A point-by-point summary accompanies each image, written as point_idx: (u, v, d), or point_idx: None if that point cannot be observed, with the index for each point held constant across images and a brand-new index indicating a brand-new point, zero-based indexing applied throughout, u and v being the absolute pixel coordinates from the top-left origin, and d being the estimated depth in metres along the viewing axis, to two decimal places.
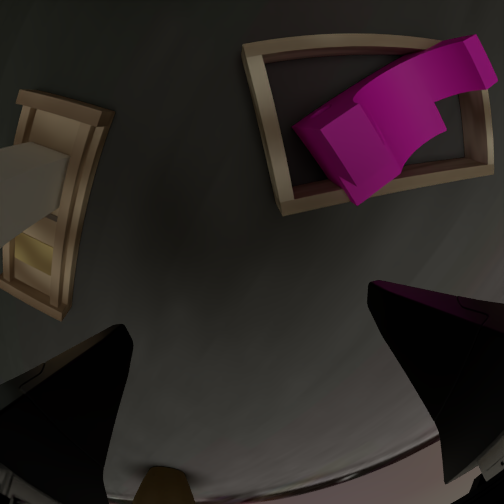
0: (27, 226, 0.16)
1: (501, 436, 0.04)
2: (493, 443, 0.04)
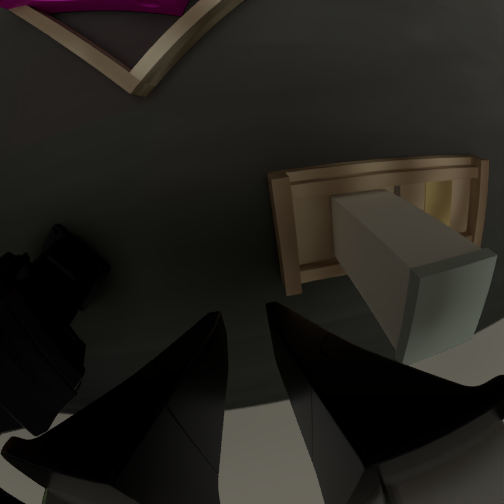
0: (417, 209, 0.16)
1: None
2: None
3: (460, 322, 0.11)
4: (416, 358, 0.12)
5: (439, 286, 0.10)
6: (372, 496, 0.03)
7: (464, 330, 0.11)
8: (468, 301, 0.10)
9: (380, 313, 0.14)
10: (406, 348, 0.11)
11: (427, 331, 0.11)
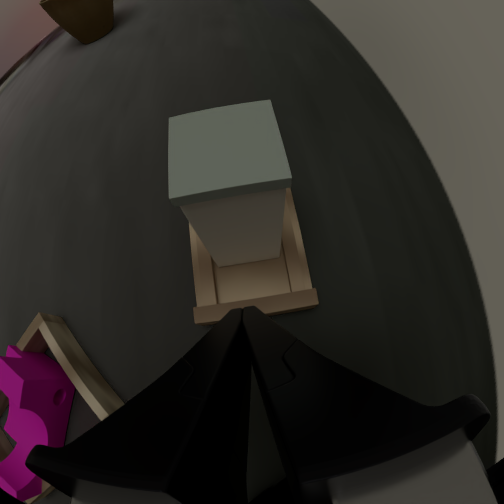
0: None
1: None
2: None
3: (238, 126, 0.13)
4: (279, 162, 0.12)
5: (183, 173, 0.12)
6: None
7: (253, 115, 0.13)
8: (212, 129, 0.13)
9: (270, 212, 0.15)
10: (259, 182, 0.12)
11: (239, 164, 0.12)
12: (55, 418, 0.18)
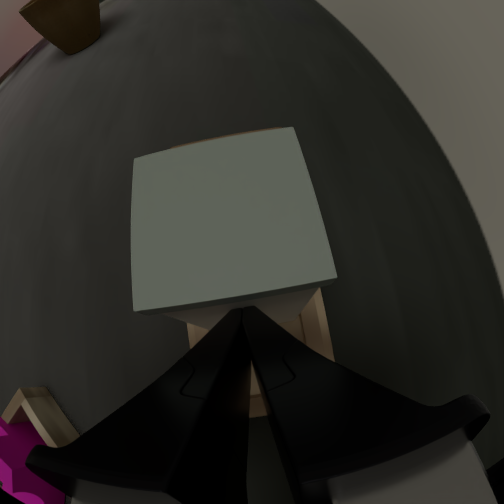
0: None
1: None
2: None
3: (244, 175, 0.08)
4: (316, 248, 0.07)
5: (154, 265, 0.07)
6: None
7: (267, 155, 0.08)
8: (200, 180, 0.08)
9: (292, 300, 0.10)
10: (283, 286, 0.07)
11: (247, 251, 0.07)
12: (51, 491, 0.13)
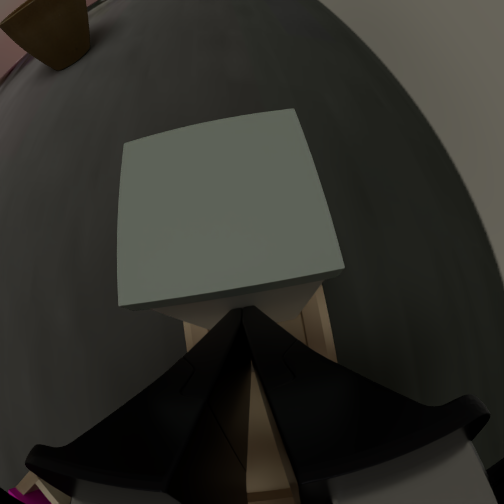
0: None
1: None
2: None
3: (241, 158, 0.07)
4: (321, 236, 0.06)
5: (141, 255, 0.06)
6: None
7: (266, 137, 0.07)
8: (193, 163, 0.07)
9: (293, 296, 0.09)
10: (284, 278, 0.06)
11: (244, 239, 0.06)
12: None
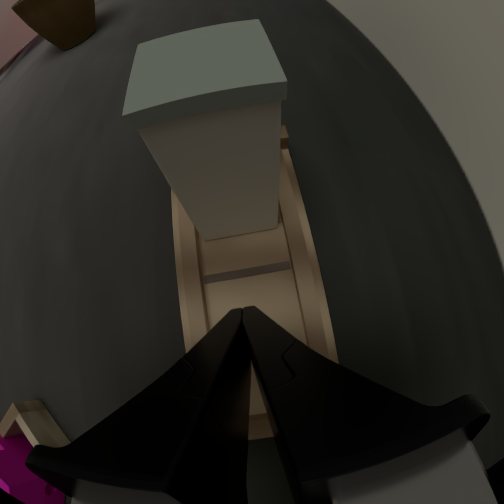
0: None
1: None
2: None
3: (219, 40, 0.09)
4: (270, 68, 0.08)
5: (144, 88, 0.08)
6: None
7: (237, 31, 0.09)
8: (186, 45, 0.09)
9: (262, 146, 0.11)
10: (243, 86, 0.08)
11: (217, 72, 0.08)
12: None
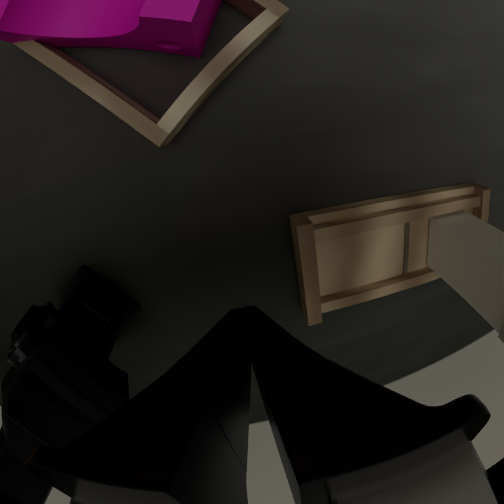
0: (496, 229, 0.17)
1: None
2: None
3: None
4: None
5: None
6: None
7: None
8: None
9: (483, 308, 0.16)
10: None
11: None
12: (133, 41, 0.14)
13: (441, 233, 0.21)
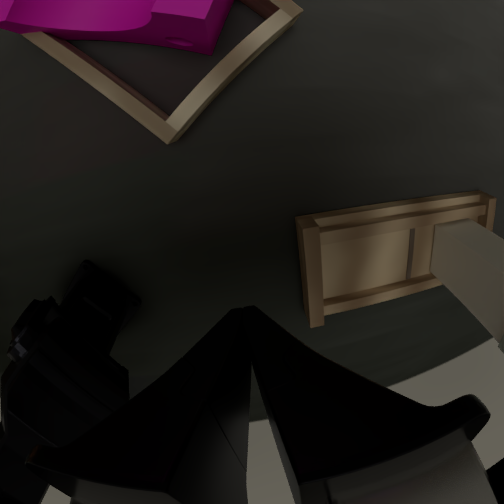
0: (500, 238, 0.17)
1: None
2: None
3: None
4: None
5: None
6: None
7: None
8: None
9: (484, 317, 0.16)
10: None
11: None
12: (144, 36, 0.14)
13: (446, 240, 0.20)
